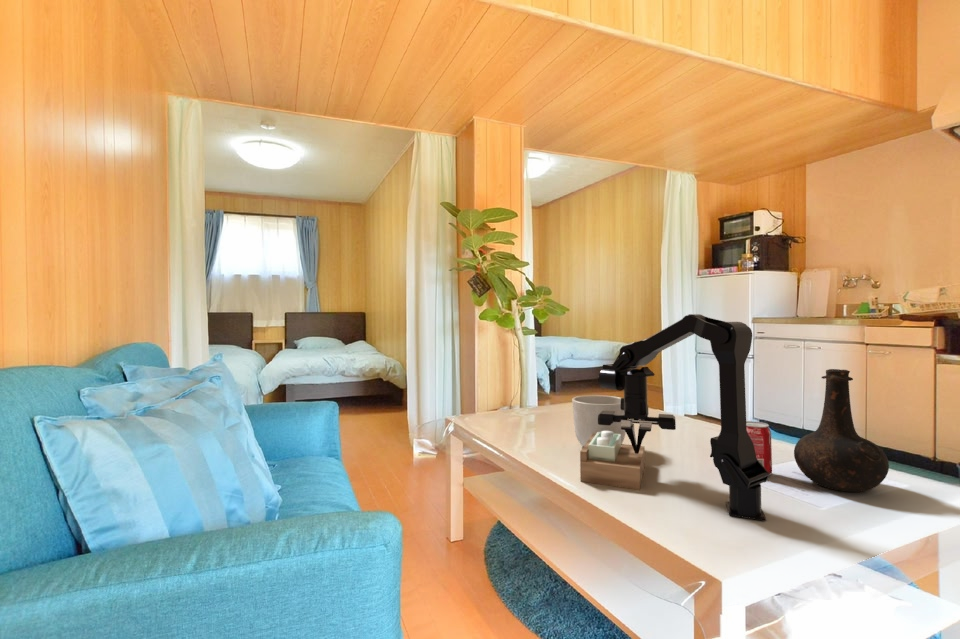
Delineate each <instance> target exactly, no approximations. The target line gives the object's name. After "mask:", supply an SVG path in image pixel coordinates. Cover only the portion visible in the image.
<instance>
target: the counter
mask: <svg viewBox="0 0 960 639" xmlns="http://www.w3.org/2000/svg"><path fill="white" fill-rule="evenodd" d="M595 435H596V433H593V434H592V435H591V437H590V438H589V440H588V441H587V443H586V444H585V445H584V446H582V448H581V449H580V452H579V453H580V454H579V455H580V456H579V461H580V464H579V466H580V469H579V471H580V474H579V475H580V478H579V479H580V482H582V483H587V484H588V483H589V484H596V485H597V484H598V485H602V486H603V485H605V486H610V487H612V486H613V487H619V488H624V489H625V488H627V489H631V490H632V489H633V490H641V486H642V485H641V484H642V480H643V474H644V470H645V464H646V463H645V461H646V459H645V458H646V457H645V454H646V452H645V450H646V448H645V446H642V445H641V447H640V450H639V453H638V454H636V453H635V452H634V449H633V446H632V444H625V443H624V444H623V443H622V444H621V448H620V450H619V453H618V455H617V457H616V460H615V462H613V461H604V460H596V459H589V449H588V445H589V443H590V442H591V441H592V439H593V438H594V436H595Z"/></svg>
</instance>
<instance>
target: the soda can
mask: <svg viewBox="0 0 960 639" xmlns="http://www.w3.org/2000/svg"><path fill="white" fill-rule="evenodd" d="M746 428H747V433H748V435H749V436H750V438H751V440H752V442H753V444H754V449H755V453H756V458H757V460H758V461H759V462H760V463H761V464H762V465H763V467H764V468H765V469H766V470H767V471H768V472H769V477H770V475H772V474H773V456H772V454H773V453H772V449H773V448H772V431H771V429H770V425H769V424H768V423H765V422H761V421H752V420H751V421H750V420H749V421H747V420H746Z"/></svg>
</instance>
